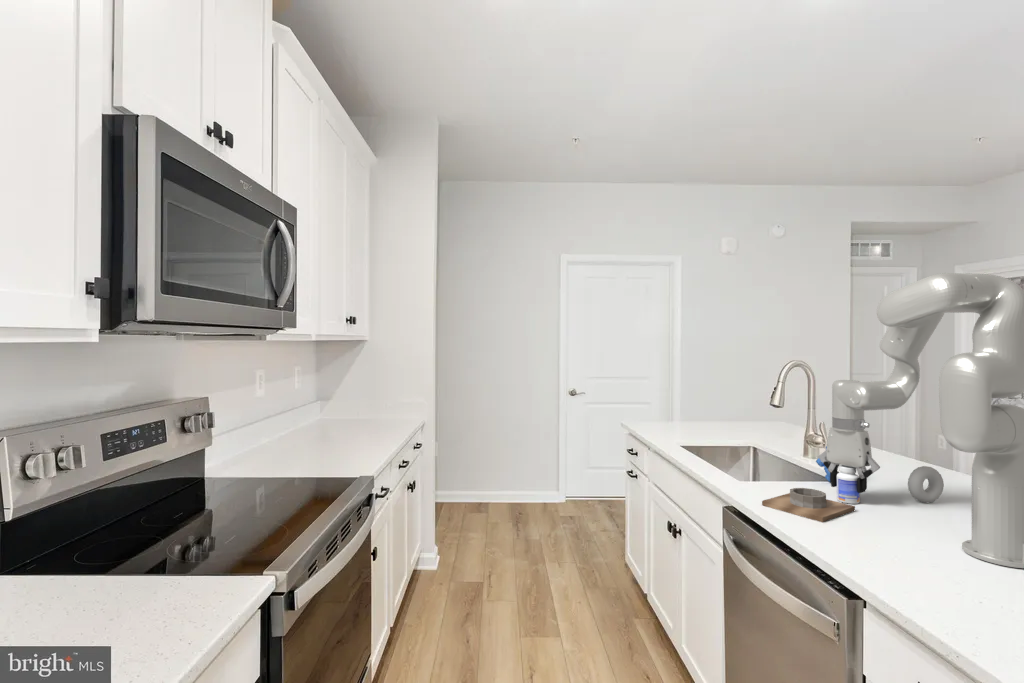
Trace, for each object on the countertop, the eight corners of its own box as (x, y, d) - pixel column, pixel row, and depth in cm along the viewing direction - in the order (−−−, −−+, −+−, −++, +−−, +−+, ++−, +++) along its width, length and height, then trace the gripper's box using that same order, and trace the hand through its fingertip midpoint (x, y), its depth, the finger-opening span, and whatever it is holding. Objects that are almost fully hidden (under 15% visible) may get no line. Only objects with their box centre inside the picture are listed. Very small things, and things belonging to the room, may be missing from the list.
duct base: (854, 510, 139) (854, 494, 139) (822, 522, 131) (822, 505, 131) (794, 495, 153) (794, 481, 153) (762, 505, 144) (762, 489, 144)
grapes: (816, 475, 175) (816, 439, 175) (840, 478, 171) (840, 441, 171) (814, 483, 165) (814, 445, 165) (840, 487, 161) (840, 447, 161)
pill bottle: (863, 505, 144) (863, 469, 144) (841, 504, 145) (841, 468, 145) (853, 499, 150) (853, 464, 149) (833, 498, 150) (833, 464, 150)
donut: (935, 499, 149) (935, 464, 149) (947, 503, 145) (947, 466, 145) (904, 501, 147) (904, 465, 147) (915, 505, 144) (915, 468, 144)
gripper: (889, 427, 142) (889, 494, 142) (823, 419, 156) (823, 480, 157) (876, 430, 138) (876, 499, 138) (809, 421, 152) (809, 484, 153)
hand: (848, 488), depth 147 cm, fingers open, 6 cm apart
